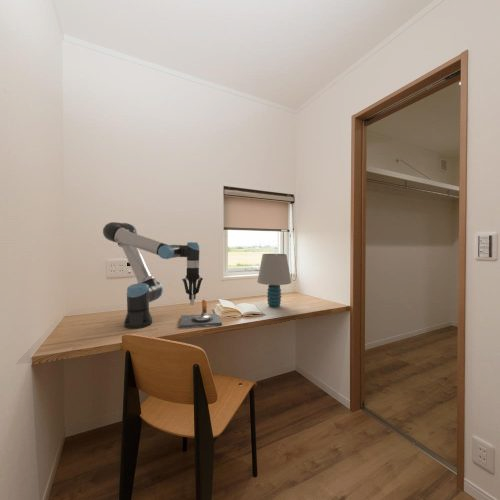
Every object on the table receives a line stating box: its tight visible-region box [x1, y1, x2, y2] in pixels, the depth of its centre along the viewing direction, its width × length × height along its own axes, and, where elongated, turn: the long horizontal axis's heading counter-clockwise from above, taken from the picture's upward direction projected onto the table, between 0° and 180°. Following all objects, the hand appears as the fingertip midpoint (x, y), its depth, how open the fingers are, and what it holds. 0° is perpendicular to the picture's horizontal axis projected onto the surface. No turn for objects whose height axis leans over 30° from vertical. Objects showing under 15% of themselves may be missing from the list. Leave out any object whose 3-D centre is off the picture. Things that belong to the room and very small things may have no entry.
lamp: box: [257, 253, 292, 308], centre depth 188 cm, size 25×25×39 cm
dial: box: [194, 299, 211, 321], centre depth 154 cm, size 14×10×10 cm
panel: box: [178, 312, 223, 329], centre depth 153 cm, size 24×19×2 cm
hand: (192, 304), depth 156 cm, fingers closed
